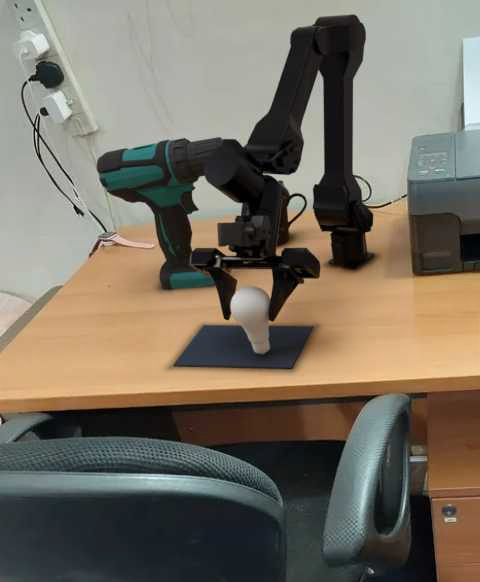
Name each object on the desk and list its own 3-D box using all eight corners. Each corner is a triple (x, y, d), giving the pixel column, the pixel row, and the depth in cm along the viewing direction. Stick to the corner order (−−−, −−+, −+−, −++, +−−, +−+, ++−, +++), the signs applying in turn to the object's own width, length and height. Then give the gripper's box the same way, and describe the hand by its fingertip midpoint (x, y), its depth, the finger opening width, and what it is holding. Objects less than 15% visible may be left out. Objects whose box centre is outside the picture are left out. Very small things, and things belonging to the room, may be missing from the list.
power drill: (274, 262, 129) (245, 125, 113) (264, 283, 122) (232, 141, 106) (148, 271, 133) (103, 140, 117) (132, 292, 126) (82, 155, 110)
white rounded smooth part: (246, 368, 99) (228, 302, 92) (240, 348, 104) (223, 284, 97) (285, 358, 100) (271, 292, 93) (278, 339, 105) (264, 275, 98)
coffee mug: (247, 249, 135) (235, 200, 129) (263, 232, 142) (253, 185, 135) (299, 250, 132) (290, 200, 126) (314, 232, 138) (306, 184, 132)
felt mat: (313, 327, 107) (313, 326, 107) (292, 369, 98) (291, 367, 98) (203, 326, 112) (203, 325, 112) (173, 366, 103) (173, 364, 103)
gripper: (175, 194, 93) (161, 303, 92) (299, 190, 88) (286, 306, 86) (214, 225, 103) (202, 323, 102) (326, 224, 98) (315, 327, 97)
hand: (248, 320), depth 97 cm, fingers open, 7 cm apart
